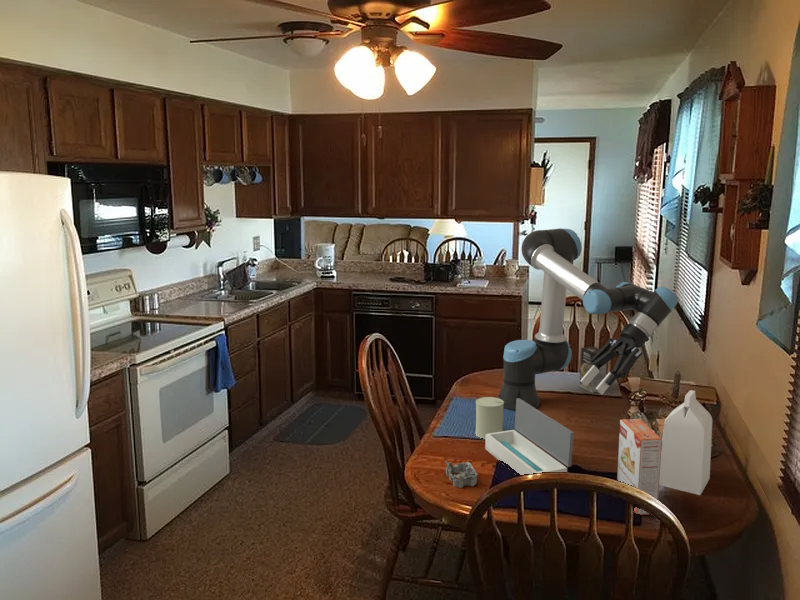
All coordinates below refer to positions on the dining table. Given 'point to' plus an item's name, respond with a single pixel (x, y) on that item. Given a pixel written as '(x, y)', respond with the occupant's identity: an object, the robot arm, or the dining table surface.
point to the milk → (686, 447)
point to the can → (489, 416)
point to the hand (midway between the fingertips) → (590, 387)
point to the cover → (544, 432)
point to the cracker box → (639, 457)
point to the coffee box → (585, 365)
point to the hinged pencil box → (520, 453)
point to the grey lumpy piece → (461, 474)
